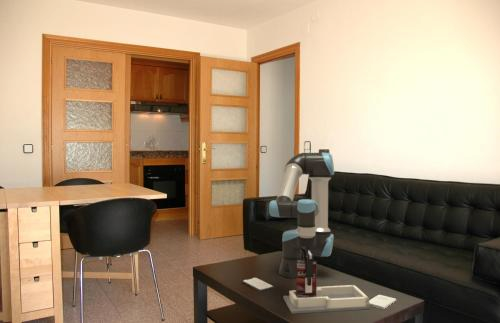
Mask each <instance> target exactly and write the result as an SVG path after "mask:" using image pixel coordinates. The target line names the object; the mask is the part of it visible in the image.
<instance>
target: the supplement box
mask: <svg viewBox="0 0 500 323" xmlns="http://www.w3.org/2000/svg"><path fill="white" fill-rule="evenodd" d="M317 266H318V265H317V261H316V260H313V271H314V277H312V293H305V278H304V276H306V270H305V261H300V260H297V269H296V278H295V279H296V284H295V285H296V287H295V289H296V297H297V298H305V297H316V287H317V276H318V275H317V272H318V271H317Z"/></svg>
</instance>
